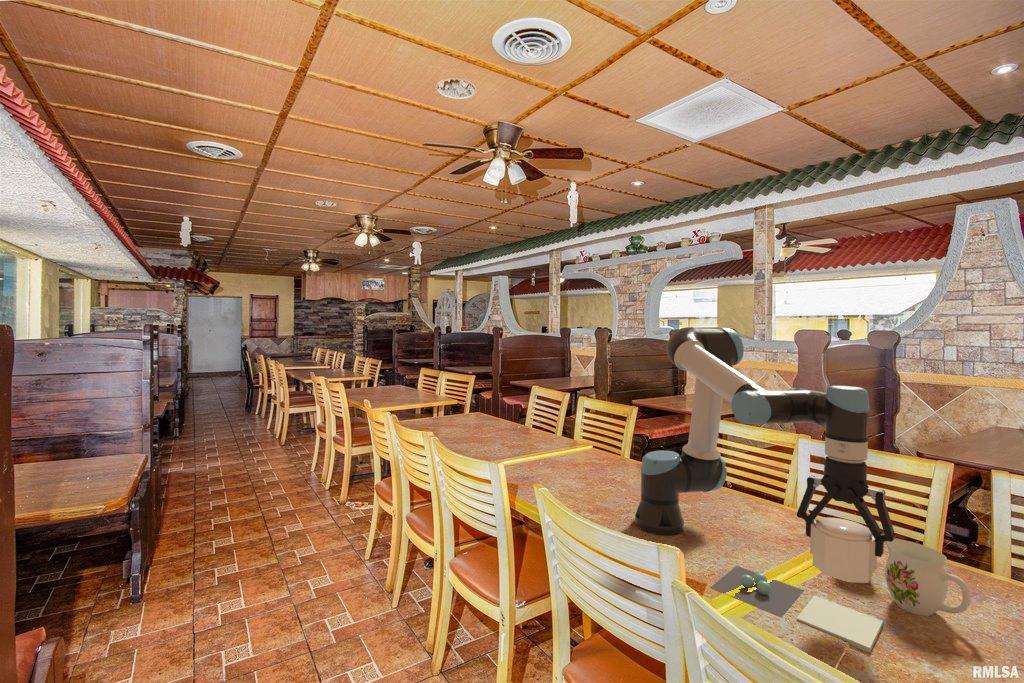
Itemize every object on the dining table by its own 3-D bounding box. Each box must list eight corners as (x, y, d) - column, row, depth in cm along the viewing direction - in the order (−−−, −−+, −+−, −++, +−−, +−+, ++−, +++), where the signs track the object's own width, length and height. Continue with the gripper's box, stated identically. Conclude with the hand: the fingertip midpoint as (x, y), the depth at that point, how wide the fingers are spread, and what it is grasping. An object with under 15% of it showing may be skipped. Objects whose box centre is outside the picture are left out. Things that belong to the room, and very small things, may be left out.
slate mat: (709, 589, 116) (709, 587, 116) (736, 567, 127) (736, 565, 127) (781, 620, 104) (781, 617, 104) (804, 592, 115) (804, 590, 115)
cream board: (796, 622, 104) (796, 618, 104) (814, 599, 113) (814, 595, 113) (869, 652, 94) (870, 648, 94) (882, 625, 103) (883, 620, 103)
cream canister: (808, 569, 103) (809, 525, 103) (821, 554, 110) (822, 513, 110) (865, 588, 96) (866, 541, 95) (875, 571, 103) (877, 527, 102)
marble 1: (738, 587, 116) (738, 575, 116) (743, 582, 119) (743, 570, 118) (751, 592, 114) (751, 580, 114) (755, 587, 116) (756, 575, 116)
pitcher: (952, 639, 99) (955, 574, 98) (862, 593, 115) (864, 537, 115) (983, 627, 103) (986, 565, 102) (891, 585, 119) (893, 531, 119)
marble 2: (751, 585, 117) (751, 573, 117) (756, 581, 119) (756, 569, 119) (764, 590, 115) (764, 578, 115) (769, 585, 117) (769, 573, 117)
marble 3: (754, 593, 114) (754, 581, 114) (759, 589, 116) (759, 576, 116) (768, 599, 112) (768, 586, 111) (772, 594, 114) (773, 581, 113)
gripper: (781, 451, 108) (779, 547, 108) (910, 474, 91) (906, 588, 92) (792, 445, 113) (790, 538, 114) (916, 466, 96) (912, 574, 97)
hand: (842, 560), depth 103 cm, fingers closed on cream canister, 10 cm apart
